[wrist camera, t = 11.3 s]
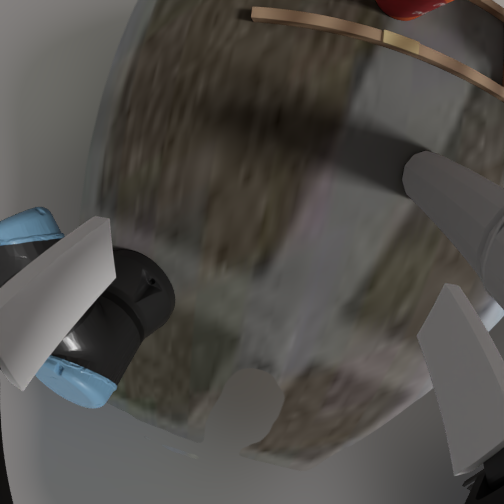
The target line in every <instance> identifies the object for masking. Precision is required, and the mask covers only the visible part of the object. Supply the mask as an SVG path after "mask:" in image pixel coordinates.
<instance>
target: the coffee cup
mask: <svg viewBox="0 0 504 504" xmlns="http://www.w3.org/2000/svg"><path fill="white" fill-rule="evenodd" d="M451 1H453V0H376V2H377V4H378V6H379V7H380V8H381V10H382V11H383V12H385V13H386V14H387V15H389V16H390V17H392V18H394V19H397V20H401V21H408V20H412V19H415V18H417V17H419V16H421V15H423V14H425V13H427V12H430V11H432V10H434V9H436V8H438V7H440V6H442V5H444V4H447V3H449V2H451Z"/></svg>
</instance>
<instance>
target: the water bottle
mask: <svg viewBox="0 0 504 504" xmlns="http://www.w3.org/2000/svg"><path fill="white" fill-rule="evenodd" d="M402 182H403V185H404V189H405V192H406V194H407V195H408V196H409V197H410V198H411V199H412V200H413V201H414V202H415V203H416V204H417V205H418V206H419V207H420V208H421V209H422V210H423V211H424V212H425V213H426V214H427V215H428V217H429V218H430V219H431V220H432V221H433V222H434V223H435V224H436V225H437V226H438V227H439V228H440V230H441V231H442V232H443V233H444V234H445V235H446V236H447V237H448V239H449V240H450V241H451V242H452V243H453V244H454V246H455V247H456V248H457V249H458V250H459V252H460V253H461V254H462V255H463V256H464V258H465V259H466V260H467V261H468V263H469V264H470V265H471V266H472V268H473V269H474V270H475V272H476V273H477V274H478V275H479V277H480V278H481V281H482V282H483V286H484V288H485V291H486V292H487V293H488V294H489V295H490V296H491V297H492V298H494V299H495V300H496V301H497V303H498V304H499V305H500V306H501V307H502V308H503V310H504V188H502V187H500V186H499V185H497V184H495V183H494V182H492V181H490V180H488V179H487V178H485V177H483V176H481V175H479V174H477V173H476V172H474V171H472V170H470V169H468V168H466V167H464V166H462V165H460V164H458V163H456V162H454V161H452V160H450V159H448V158H446V157H444V156H441V155H439V154H436V153H433V152H429V151H423V152H420V153H417V154H414V155H413V156H412V157H411V159H410V160H409V161H408V162H407V164H406V165H405V167H404V172H403V177H402Z"/></svg>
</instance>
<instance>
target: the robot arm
mask: <svg viewBox="0 0 504 504" xmlns="http://www.w3.org/2000/svg"><path fill="white" fill-rule="evenodd" d="M174 306H175V294H174V290H173V287H172V285H171V283H170V281H169V279H168V277H167V276H166V275H165V273H164V272H163V271H162V270H161V268H160V267H159V266H158V265H156V264H155V263H154V262H153V261H152V260H150V259H149V258H147V257H146V256H144V255H142V254H140V253H137V252H134V251H130V250H117V251H113V249H112V239H111V228H110V219H109V218H104V217H98V216H94V217H92V218H91V219H90V220H88V221H87V222H85V223H84V224H82V225H81V226H79V227H78V228H76V229H75V230H74V231H72V232H71V233H69V234H68V235H67V236H64V234H63V233H61V231H60V229H59V227H58V225H57V224H56V222H55V220H54V218H53V216H52V214H51V212H50V211H49V210H48V209H46V208H43V207H35V208H32V209H28V210H26V211H23V212H21V213H18V214H15V215H13V216H11V217H8V218H6V219H4V220H2V221H0V369H1V371H2V372H3V374H4V375H5V377H6V378H7V380H8V381H9V382H11V383H12V384H13V385H15V386H16V387H18V388H19V389H20V390H22V391H24V389H25V388H26V386H27V385H28V384H29V382H30V381H31V380H32V378H33V377H34V376H36V377H37V378H38V379H39V380H40V381H41V382H42V383H44V384H45V385H46V386H47V387H49V388H50V389H51V390H53V391H54V392H55V393H57V394H58V395H60V396H62V397H63V398H65V399H67V400H69V401H71V402H73V403H75V404H77V405H80V406H83V407H87V408H99V407H101V406H103V405H104V404H105V403H106V402H107V400H108V399H109V397H110V396H111V394H112V393H113V391H115V390H116V389H117V385H118V383H119V382H120V380H121V378H122V376H123V374H124V373H125V371H126V369H127V367H128V365H129V364H130V362H131V360H132V358H133V357H134V355H135V353H136V351H137V350H138V348H139V346H140V344H141V343H142V341H143V340H144V339H145V338H146V337H148V336H149V335H150V334H152V333H153V332H154V331H156V330H157V329H158V328H160V327H162V326H163V325H164V324H165V323H166V322H167V320H168V319H169V317H170V315H171V314H172V312H173V310H174ZM417 338H418V341H419V344H420V346H421V349H422V352H423V355H424V358H425V361H426V364H427V367H428V370H429V373H430V377H431V380H432V383H433V386H434V390H435V393H436V397H437V400H438V404H439V408H440V411H441V415H442V419H443V423H444V428H445V432H446V436H447V441H448V445H449V450H450V455H451V461H452V466H453V472H454V476H456V475H460V474H464V473H468V472H471V471H472V470H474V469H475V468H477V467H478V466H480V465H481V464H482V463H483V464H484V469H483V470H481V471H480V472H478V473H477V474H475V475H474V476H472V477H471V478H469V479H468V480H466V481H465V482H464V484H463V486H464V487H465V486H466V485H468V484H470V483H471V482H473V481H475V482H474V483H473V484H472V485H470V486H469V487H468V488H467V489H469V490H470V493H469V496H468V498H467V500H466V502H465V504H504V361H503V359H502V358H501V356H500V353H499V352H498V350H497V348H496V346H495V344H494V342H493V340H492V339H491V337H490V335H489V333H488V331H487V330H486V328H485V326H484V325H483V323H482V321H481V319H480V318H479V316H478V315H477V313H476V311H475V310H474V308H473V306H472V305H471V303H470V302H469V300H468V299H467V297H466V296H465V294H464V292H463V291H462V289H461V288H460V286H458V285H453V284H448V283H445V284H444V286H443V288H442V290H441V292H440V294H439V296H438V298H437V300H436V302H435V304H434V306H433V308H432V310H431V311H430V313H429V315H428V317H427V319H426V320H425V322H424V324H423V326H422V327H421V329H420V331H419V333H418V334H417ZM0 415H1V414H0ZM0 504H13V501H12V496H11V492H10V487H9V483H8V477H7V472H6V466H5V459H4V452H3V443H2V432H1V416H0Z"/></svg>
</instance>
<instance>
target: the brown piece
mask: <svg viewBox="0 0 504 504" xmlns="http://www.w3.org/2000/svg"><path fill="white" fill-rule="evenodd" d="M469 1H470V2H472V3H474V4H475V5H477V6H479V7H481V8H482V9H484V10H485V11H487V12H489V13H490V14H492V15H493V16H495V17H496V18H498V19H499V20H501V21H502V22H504V8H502V7H501V6H500V5H498V4H497V3H495V2H494V1H492V0H469ZM251 18H252V20H253V22H261V23H272V24H281V25H289V26H296V27H302V28H308V29H314V30H320V31H325V32H330V33H334V34H339V35H343V36H347V37H351V38H355V39H359V40H363V41H366V42H370V43H373V44H377V45H380V46H383V47H386V48H389V49H392V50H395V51H398V52H401V53H404V54H406V55H409V56H412V57H414V58H417V59H419V60H422V61H424V62H427V63H429V64H432V65H434V66H436V67H439V68H441V69H443V70H445V71H447V72H449V73H452V74H454V75H456V76H458V77H460V78H462V79H464V80H466V81H468V82H469V83H471V84H473V85H475V86H477V87H479V88H481V89H482V90H484V91H486V92H488V93H489V94H491V95H493V96H494V97H496V98H498V99H499V100H501V101H502V102H504V64H503V80H502V86H501V85H499V84H497V83H496V82H494V81H493V80H491V79H489V78H488V77H486V76H484V75H483V74H481V73H479V72H477V71H476V70H474V69H472V68H470V67H468V66H466V65H464V64H462V63H461V62H459V61H457V60H455V59H453V58H450V57H448V56H446V55H444V54H442V53H440V52H438V51H435V50H433V49H431V48H428V47H426V46H424V45H421V44H420V42H418V41H415V40H412V39H410V38H407V37H404V36H402V35H399V34H396V33H393V32H390V31H387V30H384V31H382V30H379V29H376V28H373V27H369V26H366V25H362V24H358V23H354V22H350V21H346V20H342V19H338V18H333V17H328V16H323V15H318V14H312V13H306V12H300V11H293V10H285V9H276V8H265V7H253V8H252V14H251Z"/></svg>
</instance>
